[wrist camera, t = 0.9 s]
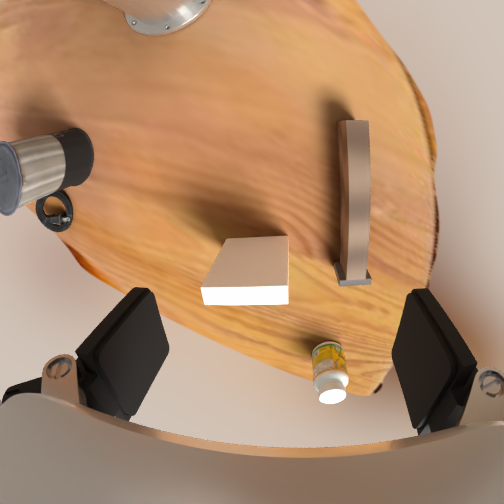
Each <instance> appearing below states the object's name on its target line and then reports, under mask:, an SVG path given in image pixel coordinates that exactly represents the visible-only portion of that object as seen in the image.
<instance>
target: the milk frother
mask: <svg viewBox="0 0 504 504" xmlns="http://www.w3.org/2000/svg"><path fill="white" fill-rule="evenodd" d="M93 160H94V153H93V147H92V144H91V141H90V139H89V137H88V136H87V134H86V133H85V132H84V131H82V130H80V129H76V128H74V129H69V130H67V131H61V132H59V133H51V134H47V135H40V136H35V137H30V138H25V139H21V140H16V141H12V142H5V141H1V142H0V213H1V214H3V215H5V216H9V215H12V214H13V213H14V212H15V211H16V209H18V208H21V207H22V206H25V205H27V204H29V203H31V202H33V201H35V200H37V202H36V213H37V216H38V218H39V220H40V221H41V222H42V224H43V225H44V226H46V227H47V228H48V229H50V230H52V231H54V232H62V231H65V230H66V229H68V228H69V226H70V225H71V223H72V219H73V208H72V204H71V202H70V200H69V198H68V197H67V196H66V195H65V194H64V193H63V192H61V191H59V190H61V189H64V188H67V187H70V186H77V185H80V184H82V183H83V182H84V181H85V180H86V179H87V178H88V176H89V175H90V172H91V170H92V166H93ZM51 196H53V197H57V198H58V199H60V200H61V201H62V203H63V204H64V206H65V208H66V212H67V216H66V214H65V212H62V213H61V214H57V215H55V214H53V215H46V214H45V212H44V210H43V205H44V202H45V200H46V199H47V198H48V197H51ZM53 223H57V224H58V223H59V225H57V224H53Z"/></svg>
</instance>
